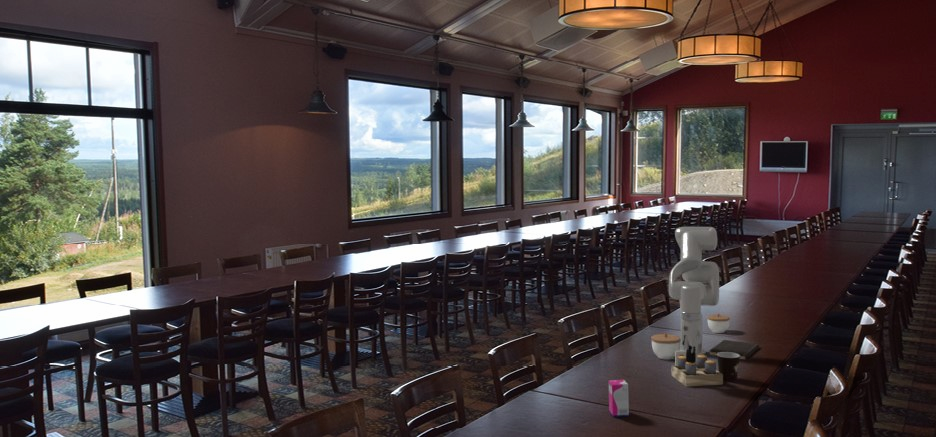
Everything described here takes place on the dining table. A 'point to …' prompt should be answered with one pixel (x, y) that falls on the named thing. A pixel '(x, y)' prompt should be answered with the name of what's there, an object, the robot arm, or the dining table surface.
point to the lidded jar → (718, 323)
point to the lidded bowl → (665, 345)
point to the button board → (697, 377)
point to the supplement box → (618, 398)
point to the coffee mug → (728, 365)
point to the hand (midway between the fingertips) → (690, 361)
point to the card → (680, 353)
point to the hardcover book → (735, 348)
